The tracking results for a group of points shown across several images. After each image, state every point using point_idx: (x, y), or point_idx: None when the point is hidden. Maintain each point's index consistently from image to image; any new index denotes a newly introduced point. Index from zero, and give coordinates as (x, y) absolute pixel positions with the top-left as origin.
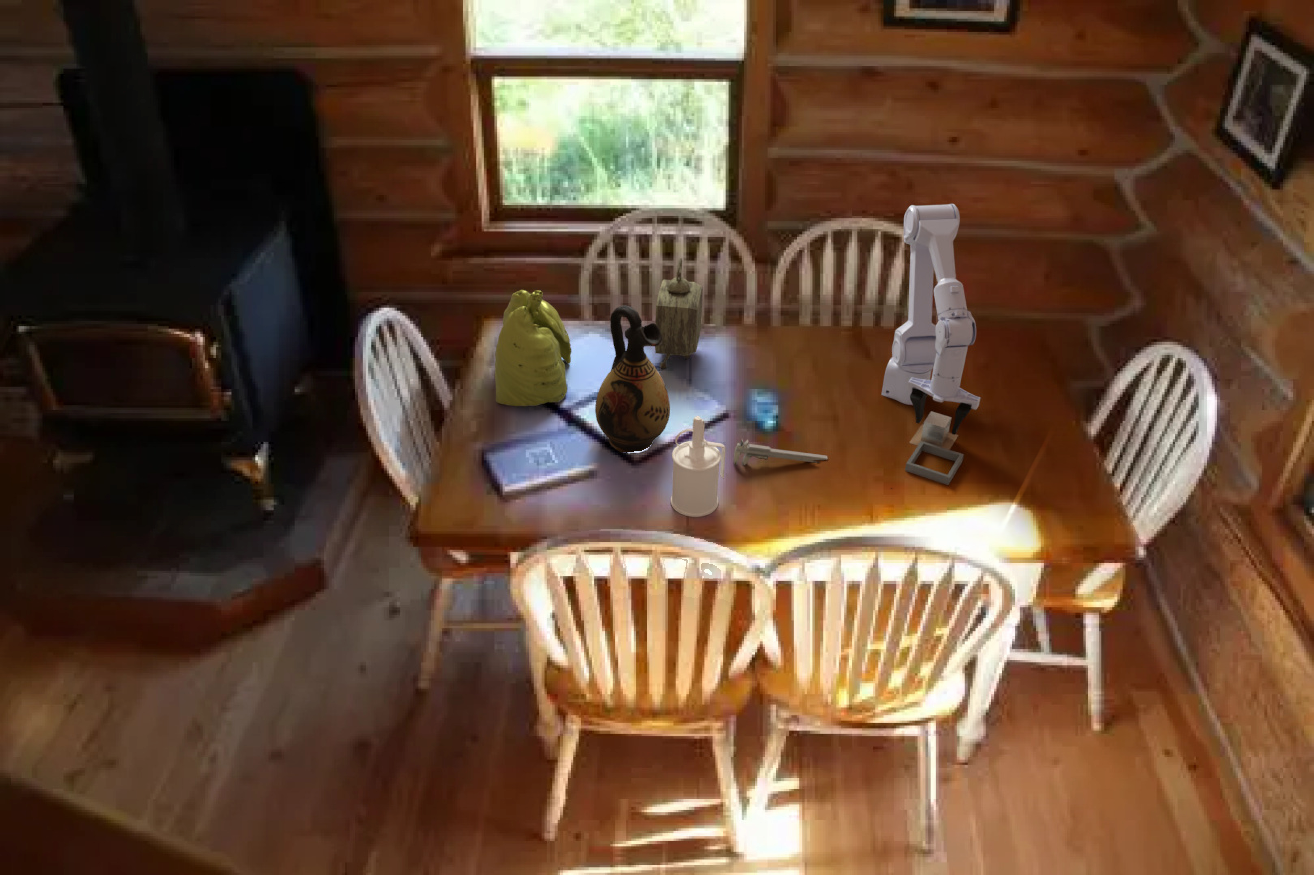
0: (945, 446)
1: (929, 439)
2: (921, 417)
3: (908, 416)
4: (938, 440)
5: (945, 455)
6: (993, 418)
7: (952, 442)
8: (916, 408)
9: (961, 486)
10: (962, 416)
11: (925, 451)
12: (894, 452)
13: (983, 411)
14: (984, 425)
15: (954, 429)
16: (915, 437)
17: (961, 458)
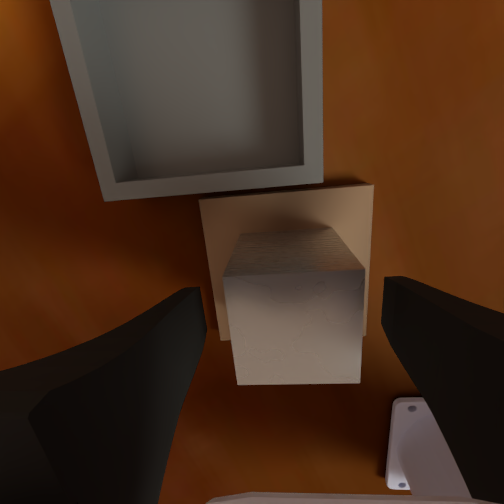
0: (228, 252)
1: (295, 236)
2: (392, 317)
3: None
4: (253, 241)
5: (188, 174)
6: (186, 460)
7: (218, 291)
8: (497, 321)
9: (48, 34)
10: (25, 369)
11: (283, 165)
12: (414, 90)
13: (223, 474)
14: (189, 425)
15: (173, 298)
16: (360, 239)
17: (94, 163)
